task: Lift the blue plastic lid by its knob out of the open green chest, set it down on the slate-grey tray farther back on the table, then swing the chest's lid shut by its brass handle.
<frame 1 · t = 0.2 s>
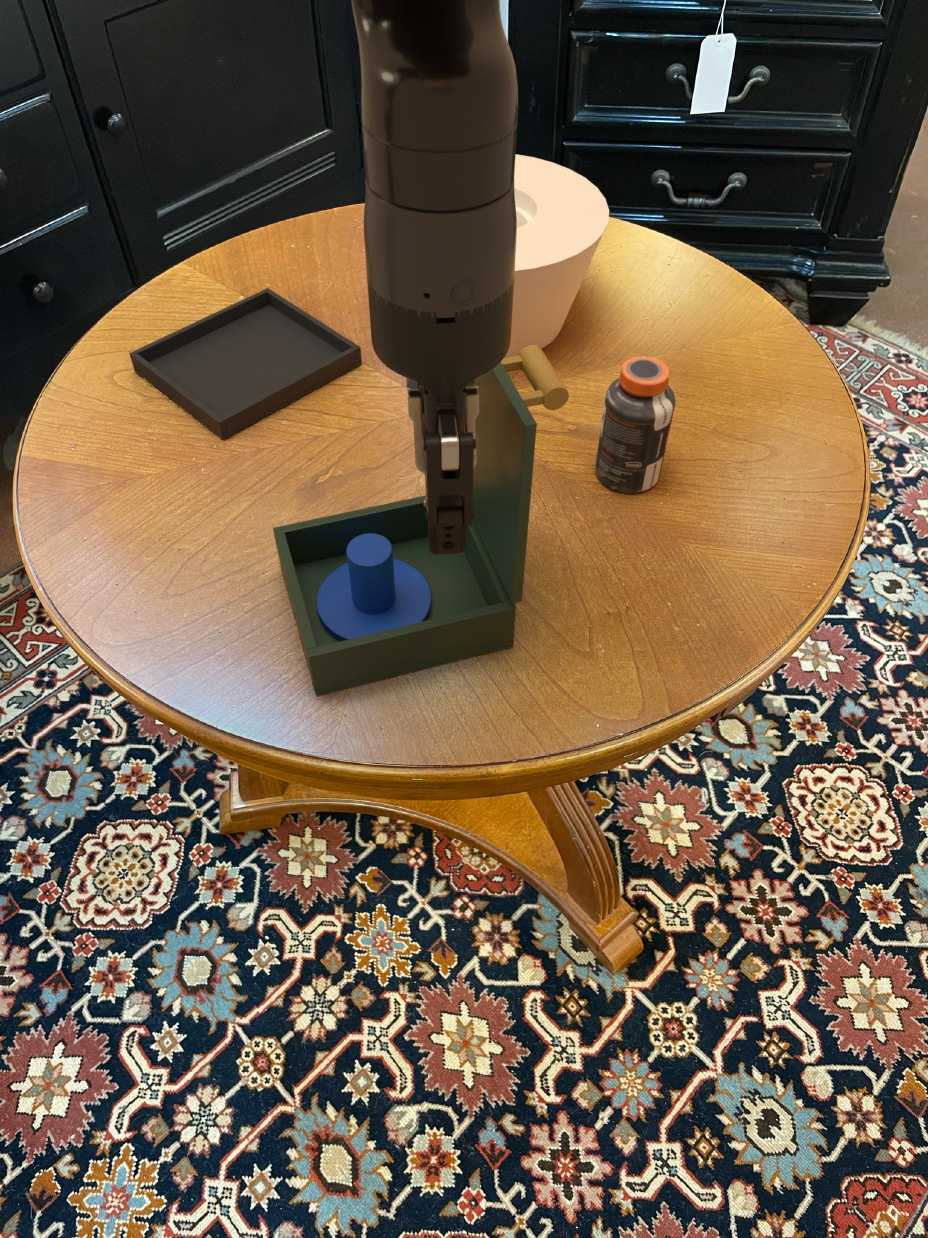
hand: (442, 501, 61), 16 cm above the table, tool pointing down, fingers open, 8 cm apart
pill bottle: (626, 474, 87), on the table
blue lid: (374, 604, 76), point 1 cm above the table, touching green chest
tray: (248, 367, 97), on the table
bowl: (484, 316, 104), on the table
green chest: (393, 606, 77), on the table
chest lid: (516, 453, 68), point 13 cm above the table, hinge at 90.0°
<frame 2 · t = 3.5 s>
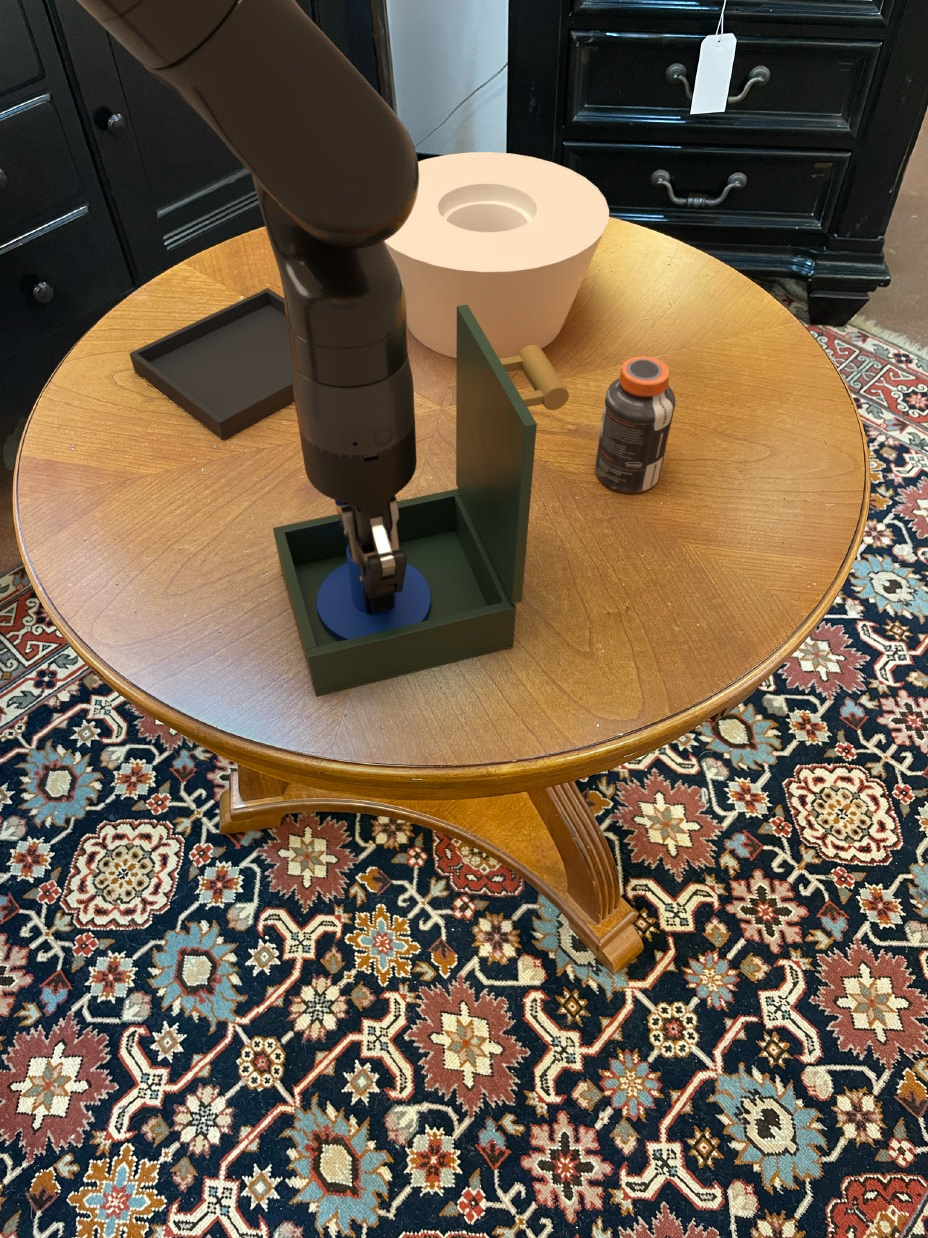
hand: (373, 590, 74), 2 cm above the table, tool pointing down, fingers closed on blue lid, 3 cm apart
blue lid: (374, 604, 76), point 1 cm above the table, touching gripper, green chest
everything else where it was.
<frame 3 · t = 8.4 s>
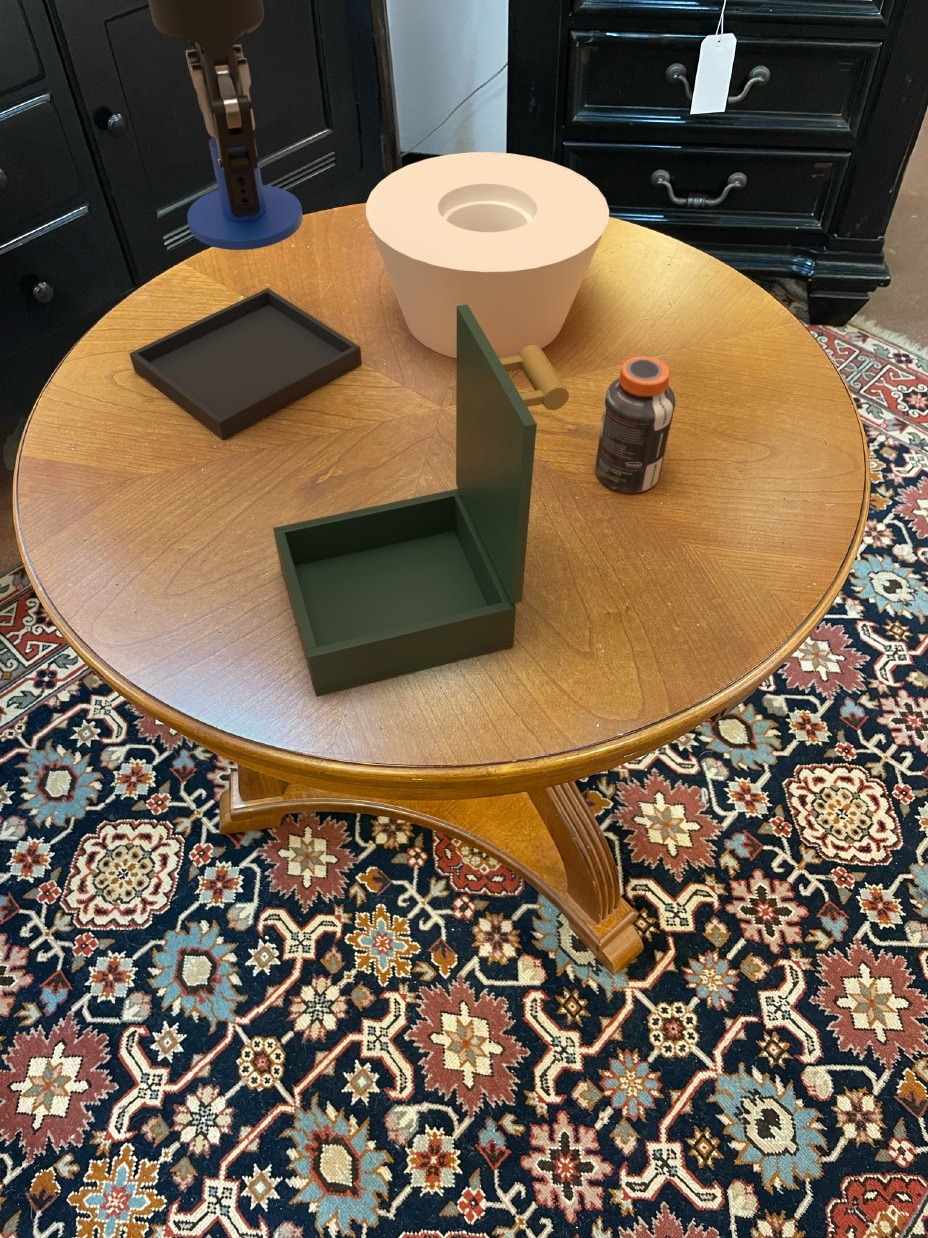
hand: (242, 200, 75), 22 cm above the table, tool pointing down, fingers closed on blue lid, 3 cm apart
blue lid: (246, 220, 76), point 20 cm above the table, touching gripper
everything else where it was.
when the fingers open (2 cm above the table, at t = 13.7 s): blue lid stays where it is, resting on tray.
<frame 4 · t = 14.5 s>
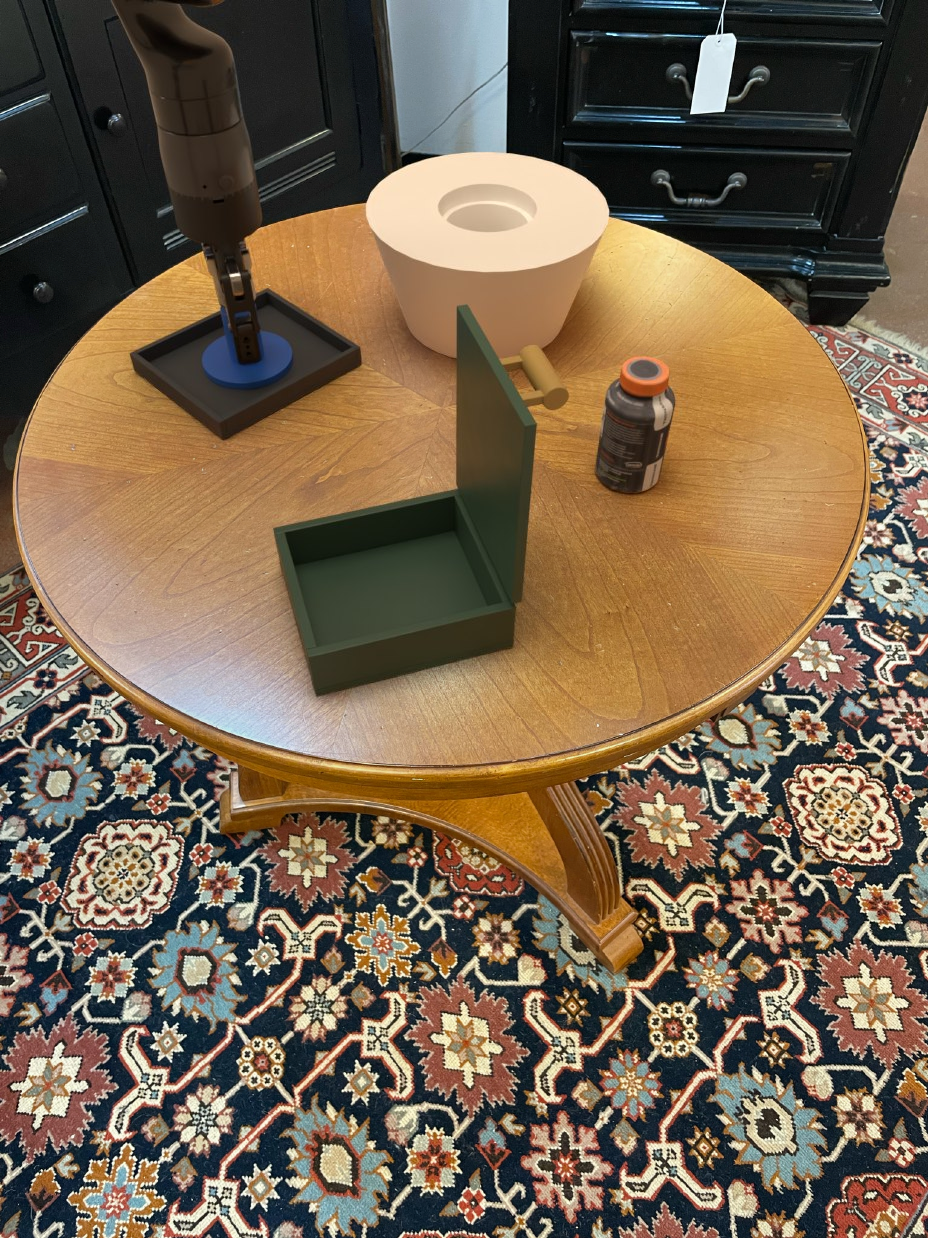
hand: (242, 336, 94), 4 cm above the table, tool pointing down, fingers open, 8 cm apart
blue lid: (248, 362, 97), point 1 cm above the table, touching tray
everything else where it was.
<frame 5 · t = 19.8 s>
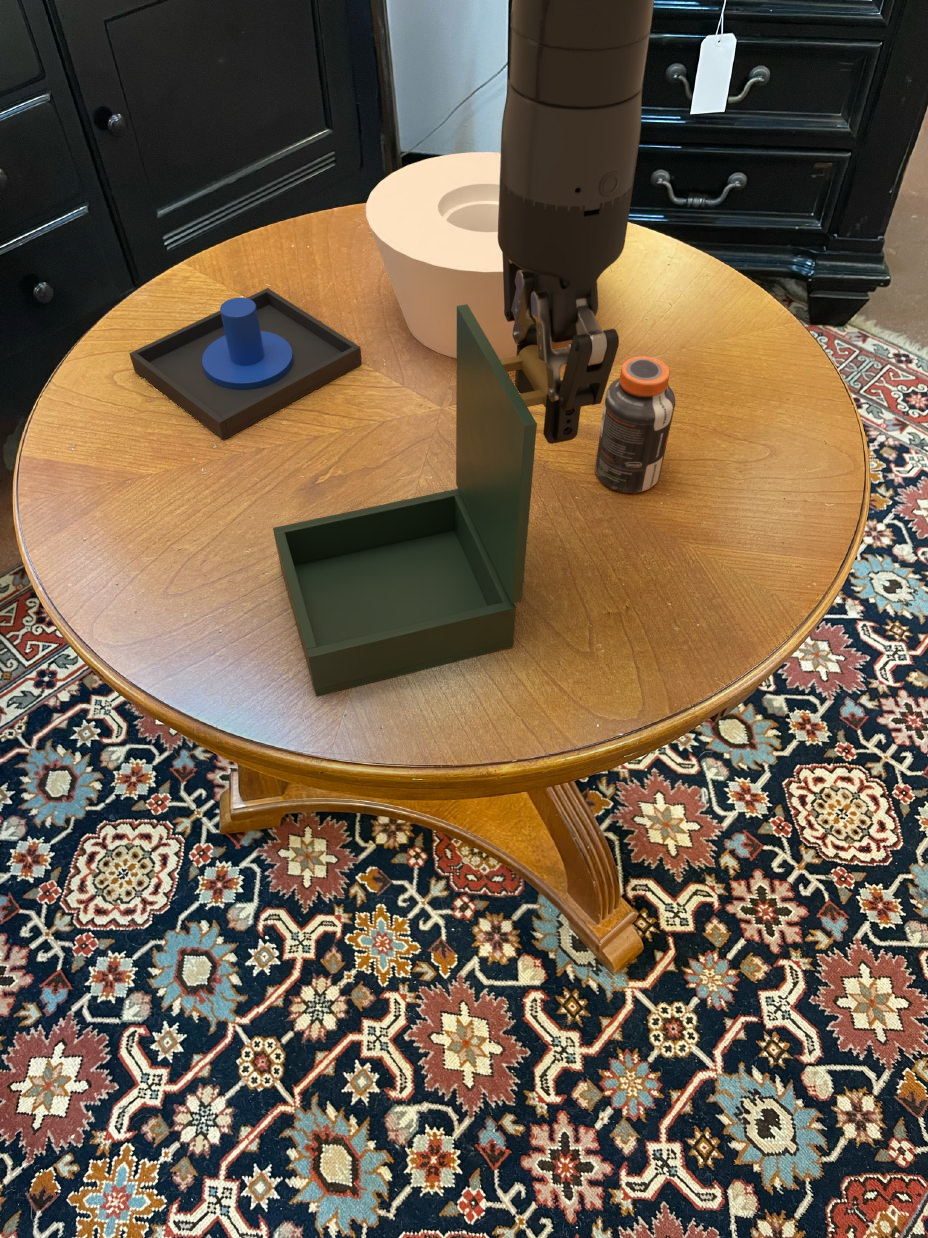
hand: (545, 412, 66), 17 cm above the table, tool pointing down, fingers closed on chest lid, 5 cm apart
chest lid: (516, 453, 68), point 13 cm above the table, hinge at 90.0°, touching gripper
everything else where it was.
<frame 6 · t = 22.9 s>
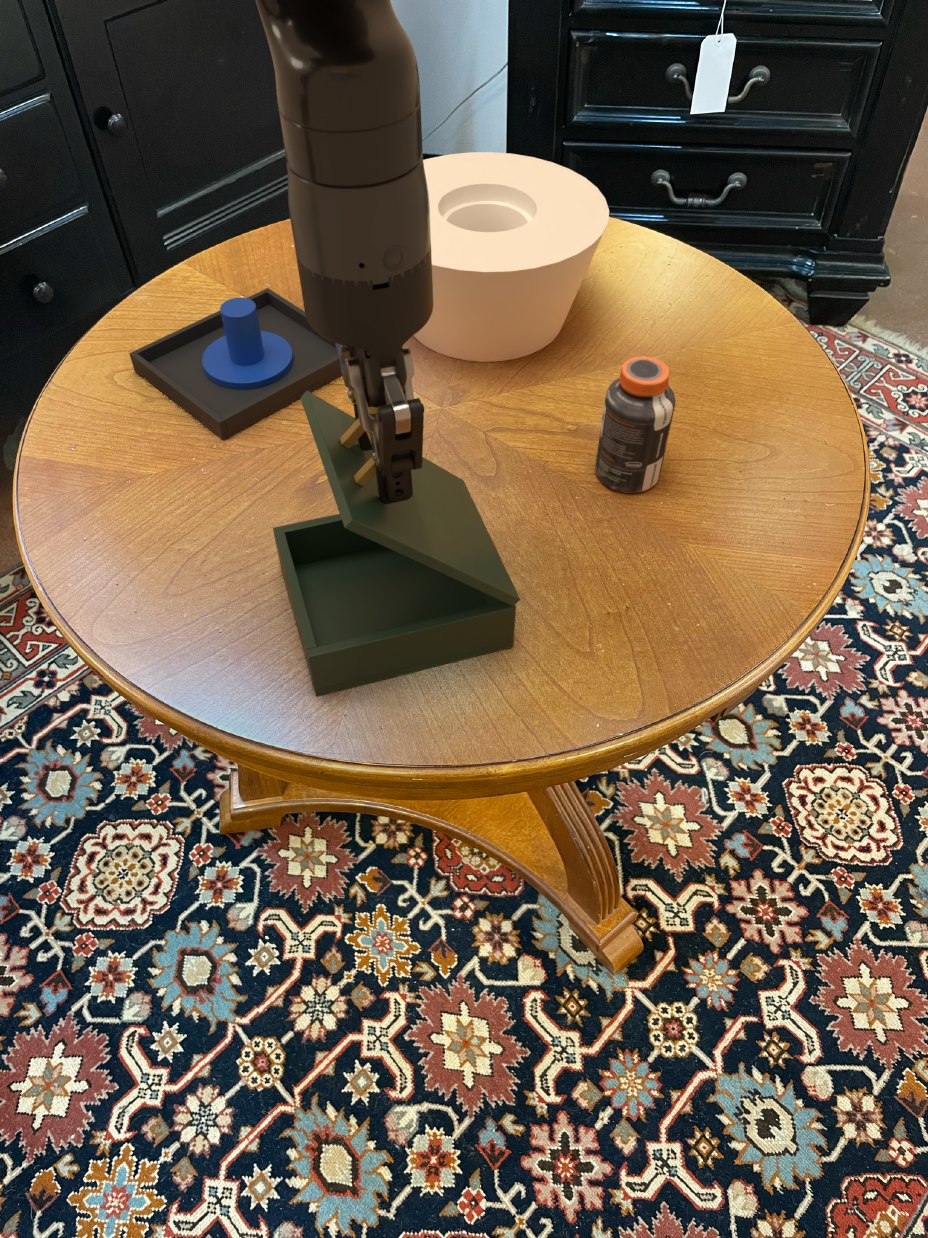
hand: (385, 470, 66), 14 cm above the table, tool pointing down, fingers closed on chest lid, 5 cm apart
chest lid: (430, 481, 68), point 12 cm above the table, hinge at 44.6°, touching gripper
everything else where it was.
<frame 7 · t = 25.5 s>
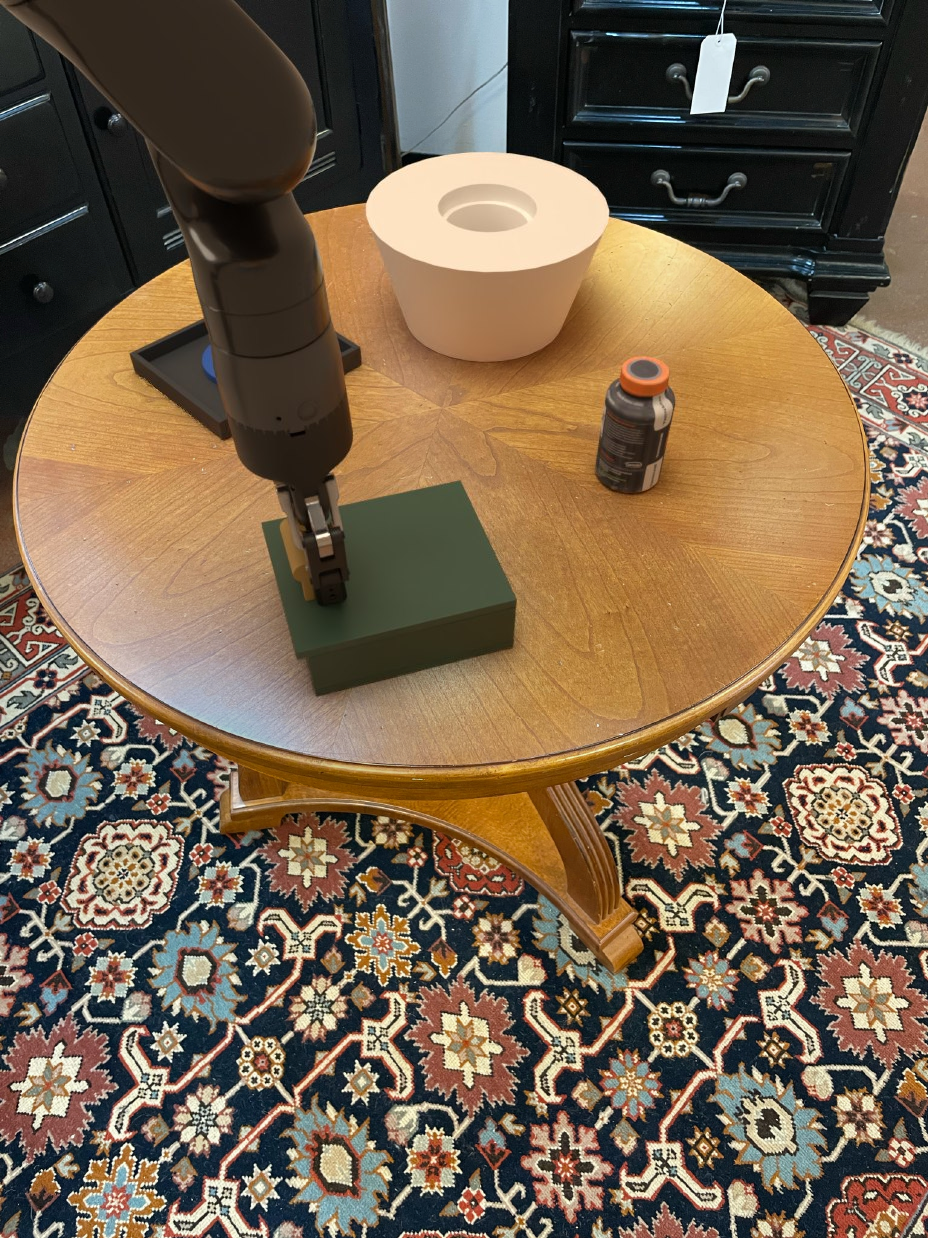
hand: (323, 572, 71), 6 cm above the table, tool pointing down, fingers closed on chest lid, 5 cm apart
chest lid: (383, 544, 71), point 7 cm above the table, hinge at -0.2°, touching gripper, green chest
everything else where it was.
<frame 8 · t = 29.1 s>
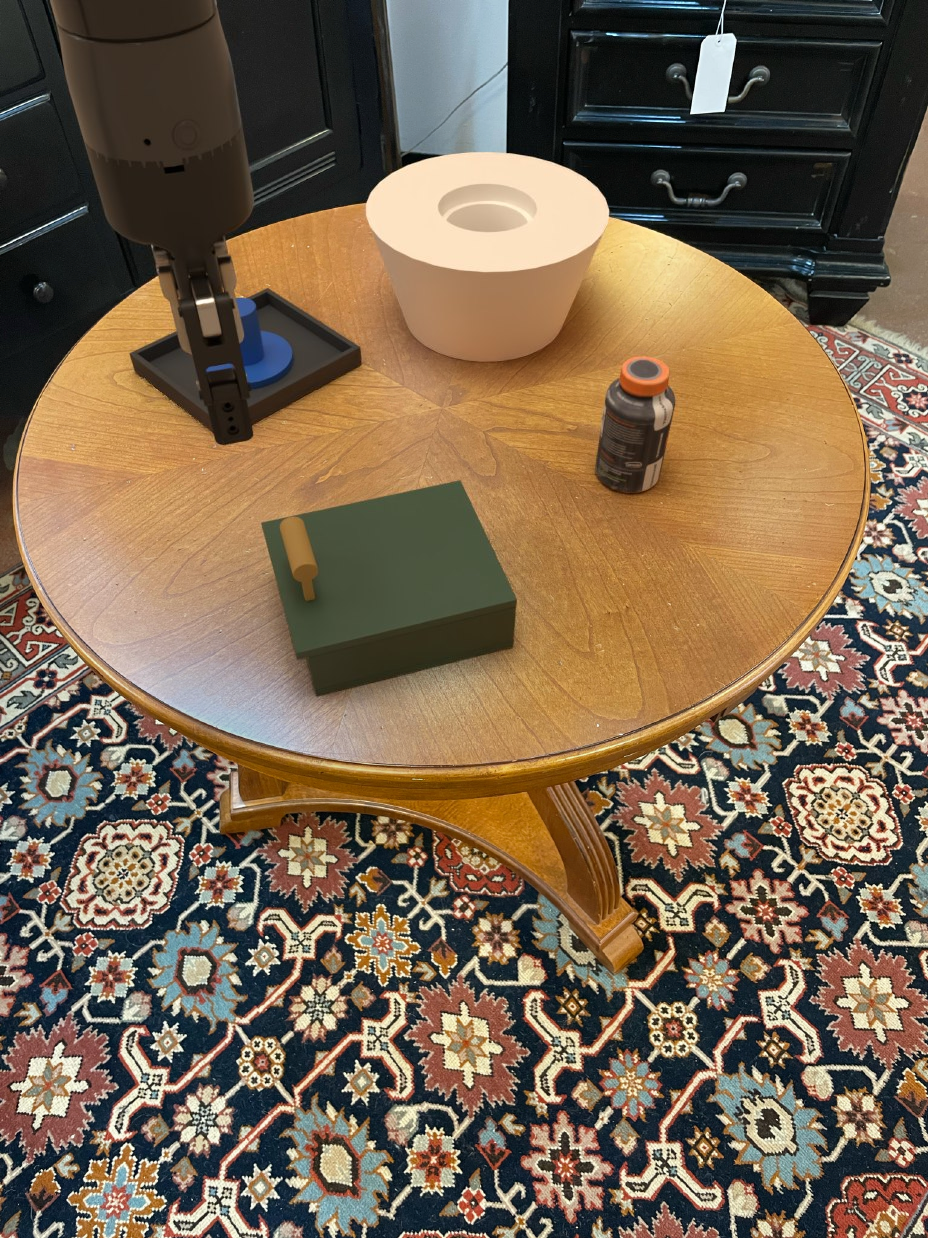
hand: (223, 396, 58), 22 cm above the table, tool pointing down, fingers open, 8 cm apart
chest lid: (383, 544, 71), point 7 cm above the table, hinge at -0.2°, touching green chest
everything else where it was.
at the end: blue lid inside the target area in the tray (0.1 cm from its centre), point 0.6 cm above the tray's base; blue lid tilted 0°; chest lid at +0° (first picture: +90°) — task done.
